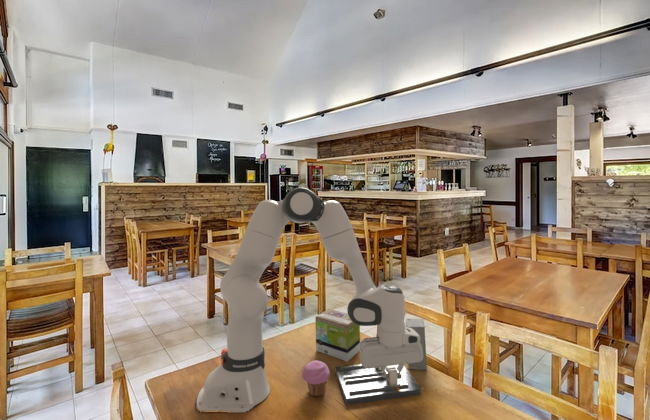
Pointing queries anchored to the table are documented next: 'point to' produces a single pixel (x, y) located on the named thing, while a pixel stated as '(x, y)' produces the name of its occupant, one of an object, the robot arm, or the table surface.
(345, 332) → the tea box
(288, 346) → the table surface
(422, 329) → the skincare box
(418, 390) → the console
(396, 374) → the fader knob
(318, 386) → the cupcake
